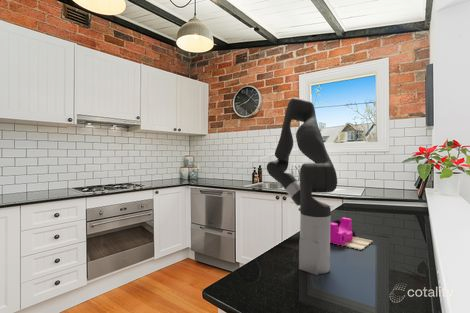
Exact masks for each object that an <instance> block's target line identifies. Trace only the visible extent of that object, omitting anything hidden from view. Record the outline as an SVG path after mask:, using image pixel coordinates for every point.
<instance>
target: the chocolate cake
mask: <svg viewBox="0 0 470 313" xmlns="http://www.w3.org/2000/svg"><path fill="white" fill-rule="evenodd" d="M333 218H334V219H333V220H332V221H331V222H332V223H337V224H338V228H339V226H340V223H341V219H339V218H338V217H337V216H334V217H333ZM352 231H353V234H352V236H353V237H358V236H357V233H356V231H354V229H352Z"/></svg>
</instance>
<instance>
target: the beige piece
mask: <svg viewBox="0 0 470 313" xmlns="http://www.w3.org/2000/svg"><path fill="white" fill-rule="evenodd" d="M372 243H373V240H371V239H366V238H361V237H358V236H355V237H353V236H352V240H351V241H349V242H347V243H345V244H342V245H343V246H346V247H345V248H347V247H350V248H349V249H351V248H354V249H353V250H355V249H358V250H357V251H359V250H362V249H363V250H364V249H366V248H367V247H369V246H370V245H371V244H372ZM369 244H370V245H369ZM343 246H342V247H343ZM365 247H366V248H365ZM363 250H362V251H363Z"/></svg>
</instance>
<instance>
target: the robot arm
mask: <svg viewBox="0 0 470 313" xmlns="http://www.w3.org/2000/svg"><path fill="white" fill-rule="evenodd" d="M284 113H285V114H284V118H283V122H282V125H281V126H282V127H281V131H280V132H281V133H280V136H279V140H278V144H277V146H276V148H275V151H274V156H275V157H276V159H275V160H272V161H270V162H268V163H267V164H266V171H267V173H268V174H269V176H271V178H272V179H274V180H275V181H276V182H278V183H279V184H280V185H281V186H282V188H283V189H284V190H285V192H286V193H287V195H288V196H289V197H290V199H291V200H292V201H293V203H294V204H295V206H297V207H298V206H299V208H298V209H297V210H298V211H299V212H300V214H299V216H300V217H299V220H300V221H299V226H300V227H299V240H298V243H299V244H298V251H299V252H298V269H299V270H300V271H304V272H307V273H310V274H312V275H315V276H318V275H320V274H321V275H322V274H327V273H329V272H330V270H331V267H330V266H331V244H330V224H331V222H332V221H331V220H332V219H331V217H332V216H331V214H332V212H331V211H332V210H331V206H330V204H327V203H325V202H322V201H319V200H317V199H316V198H314V197H313V195H312V193H314V194H315V193H318V194H319V193H321V194H322V193H325V194H326V193H332V192H334V191H335V190H336V189H337V186H338V176H337V172H336V169H335V167H334V166H335V165H334V163H333V162H332V160H331V158H330V155H329V154H328V151H327V149H326V146H325V142H324V139H323V135H322V133H321V130H320V127H319V125H318V121H317V117H316V110H315V105H314V103H313V102H312V101H310V100H306V99H302V98H297V97H292V98H291V99H290V100H289V101H288V103H287V107H286V110H285V112H284ZM292 121H297V122H302V123H301V125H300V126H299V127H298V128H297V130H296V134H295V140H296V143H297V148H298V149H299V151H300V152H301V153H302V154H303V155H304V156H306V157H307V158H308V159H309V160H310V161H312V162H313V163H312V162H311V163H310V162H309V163H307V162H305V163H303V164H302V165H301V166H300V169H299V180H297V178H295V177H294V175H293V174H292V173H291V172H286V171H287V170H288V168H289V162H290V161H289V160H290V156H291V152H292V150H293V147H294V136H293V133H292V130H291V123H292Z"/></svg>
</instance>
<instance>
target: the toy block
mask: <svg viewBox="0 0 470 313" xmlns="http://www.w3.org/2000/svg"><path fill="white" fill-rule="evenodd" d="M340 221H341V223H340V226H339V228H338V224H337V223H332V221H331V224H330V243H333V244H332V245H334V244H337V245H336V246H339V245H342V244H345V243H347V242H349V241H351V240H352V234H353V231H354V230H353V229H352V228H353V226H352V225H353V223H352V222H353V219H352V218H349V217H344V216H343V217H341V218H340ZM352 230H353V231H352Z"/></svg>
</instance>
